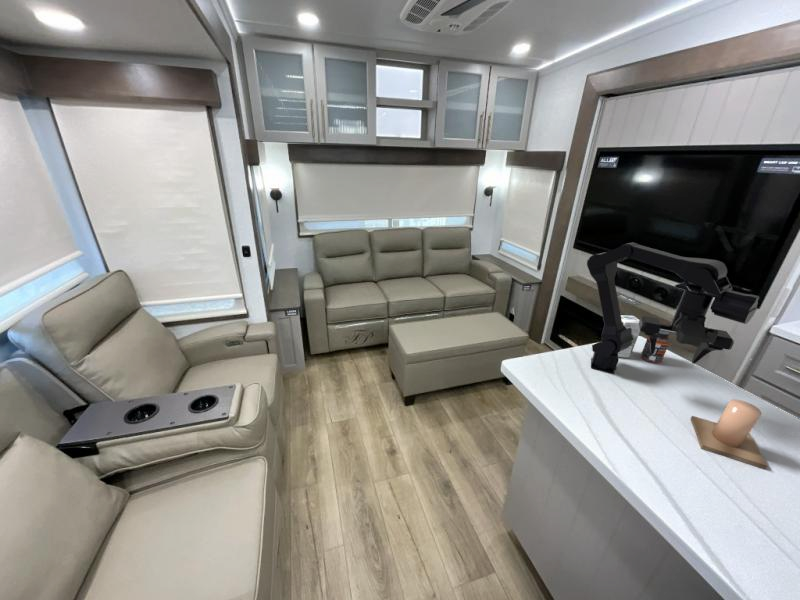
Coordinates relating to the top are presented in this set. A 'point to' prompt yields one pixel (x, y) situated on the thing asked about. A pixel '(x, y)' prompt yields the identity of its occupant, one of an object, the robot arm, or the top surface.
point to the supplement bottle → (656, 348)
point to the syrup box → (633, 324)
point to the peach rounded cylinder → (736, 422)
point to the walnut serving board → (710, 443)
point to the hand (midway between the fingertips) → (671, 358)
